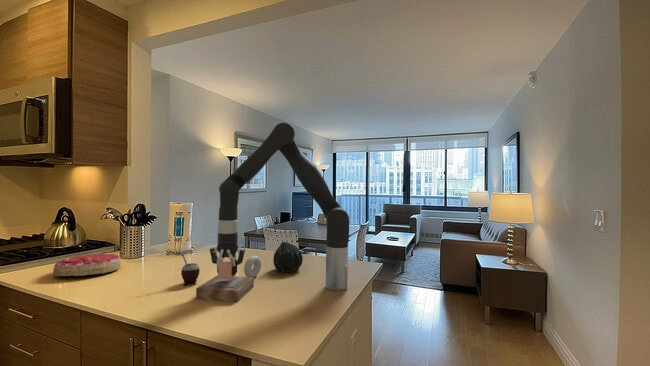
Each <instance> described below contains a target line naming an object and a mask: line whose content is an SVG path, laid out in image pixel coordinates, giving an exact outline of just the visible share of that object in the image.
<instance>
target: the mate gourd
mask: <svg viewBox="0 0 650 366" xmlns="http://www.w3.org/2000/svg"><path fill="white" fill-rule="evenodd" d="M175 250H176V251H177V252H178V253H180V255H181V257H182V258H183V261H184V265H183V267H182V268H181V273H180V274H181V278H182V280H183V287H186V285H187V286H189V285H192V284H193V286H196V285H197V282H198V281H197V280H198V278H199V276H200V266H199V265H198V264H197V263H196V262H195V263H193V262H192V263H191V262H190V263H187V260H186V257H185V254H184V253H183V252H182V251H181V250H180V249H175ZM188 284H189V285H188Z"/></svg>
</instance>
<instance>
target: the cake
mask: <svg viewBox="0 0 650 366" xmlns="http://www.w3.org/2000/svg"><path fill="white" fill-rule="evenodd" d="M121 264H122V258H121V257H120V256H119V255H117V254H116V253H108V254H107V253H106V254H105V253H102V254H101V253H99V254H97V253H96V254H95V253H94V254H91V255H90V254H85V255H78V256H72V257H67V258H63V259H61V260H60V261H58V262H56V263H55V264H54V266H53V271H52V276H54V277H56V278H63V277H84V276H88V275H89V276H93V275H94V276H95V275H103V274H106V275H107V274H108V273H113V271H114V272H116V271H118V270H119V269H120V268H121Z"/></svg>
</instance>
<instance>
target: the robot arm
mask: <svg viewBox="0 0 650 366" xmlns="http://www.w3.org/2000/svg"><path fill="white" fill-rule="evenodd" d="M295 135H296V133H295V129H294V127H293V125H291V123H288V122H284V121H283V122H279V123H277V124H276V125H275V126H274V127H273V129H272V130H271V132H270V133H269V135H268V137H267V138H266V139H265V140H264V141H263V143H261V144H260V145H259V147H258V148H257V149H256V150H255V151H253V153H252V154H251V155H249V156H247V158H246V159H245V160H244V161H243V162H241V164H240V165H239V166H238V167H237V168H236V169H235V171H234V172H233V173H231V175H229V176H228V177H227V178H226V179H225V180H224V181H222V182H221V183H220V185H219V187H218V190H219V208H218V209H219V210H218V223H217V246H216V247H214V246H213V247H211V248H209V252H210V253H209V254H210V257H211V258H210V260H211V263H212V264H215V265H216V273H217V274H218V263H219V262H221V261H223V260H225V258H227V259H229V260H230V261H231V262H232V265H233V266H232V276H234V275H235V274H236V275H237V273H238V266H239V265H240V264H242V263H243V260H244V257H245V253H246V249H245V248H241V247H239V245H238V241H239V236H238V235H239V223H238V222H239V221H238V212H239V211H238V210H239V209H238V206H239V205H238V204H239V194H240V193H239V192H240V190H241V189H243V187H244V186H245V185H246V184H247V183H249V182H251V180H253V179H254V178H255V177H256V176H257V175H258V174H259V172H261V170H262V169H263V168H264V167H265V165H266V164H267V163H268V162H269V160H270V159H271V158H272V157H273V156H274V155H275V154H276V153H277V152H278V151H279V152H280V153H281V155H283V157H284V158H285V159H286V161H287V162H288V165H290V167H291V169H292V171H293V173H294V175H295V176H296V177H297V179H298V180H299V182H300V184H301V185H302V187H303V188H304V189H305V191H306V192H307V193H308V194H309V196H310V197H311V198H312V199H313V200H314V202H316V204H317V205H318V206H319V208H320V210H321V211H322V213H323V216H324V218H325V219H326V239H325V240H326V241H325V242H326V248H325V249H326V250H325V255H326V256H325V288H326V289H327V290H331V291H346V290H348V286H349V280H348V279H349V239H350V215H349V214H348V213H347V211H345V209H344V208H343V207H342V206H341V205H340V203H338V201H337V200H336V199H335V197H334V196H333V194H332V192H331V190H330V187H329V186H328V184H327V181H326V180H325V178H324V176H323V175H322V174H321V172H320V170H319V169H318V168H317V166H316V165H315V163H313V162H312V160H310V159H309V157H307V156H306V155H305V154H304V153H303V151H301V149H300V148H299V146H298V145H297V143H296V140H295ZM217 253H219V254H217ZM237 254H238V257H237Z"/></svg>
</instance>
